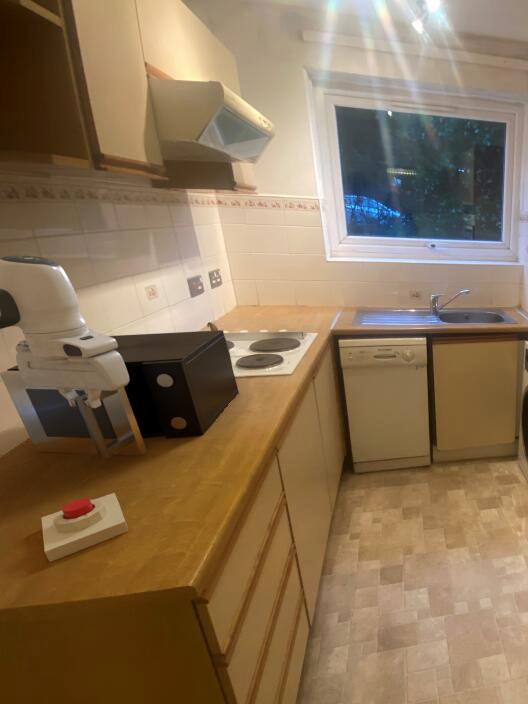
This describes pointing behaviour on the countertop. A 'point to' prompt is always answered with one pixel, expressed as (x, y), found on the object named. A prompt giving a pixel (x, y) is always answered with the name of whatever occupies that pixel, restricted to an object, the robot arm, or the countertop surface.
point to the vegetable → (214, 328)
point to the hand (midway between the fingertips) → (86, 406)
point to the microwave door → (75, 420)
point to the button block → (82, 528)
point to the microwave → (176, 381)
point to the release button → (77, 508)
